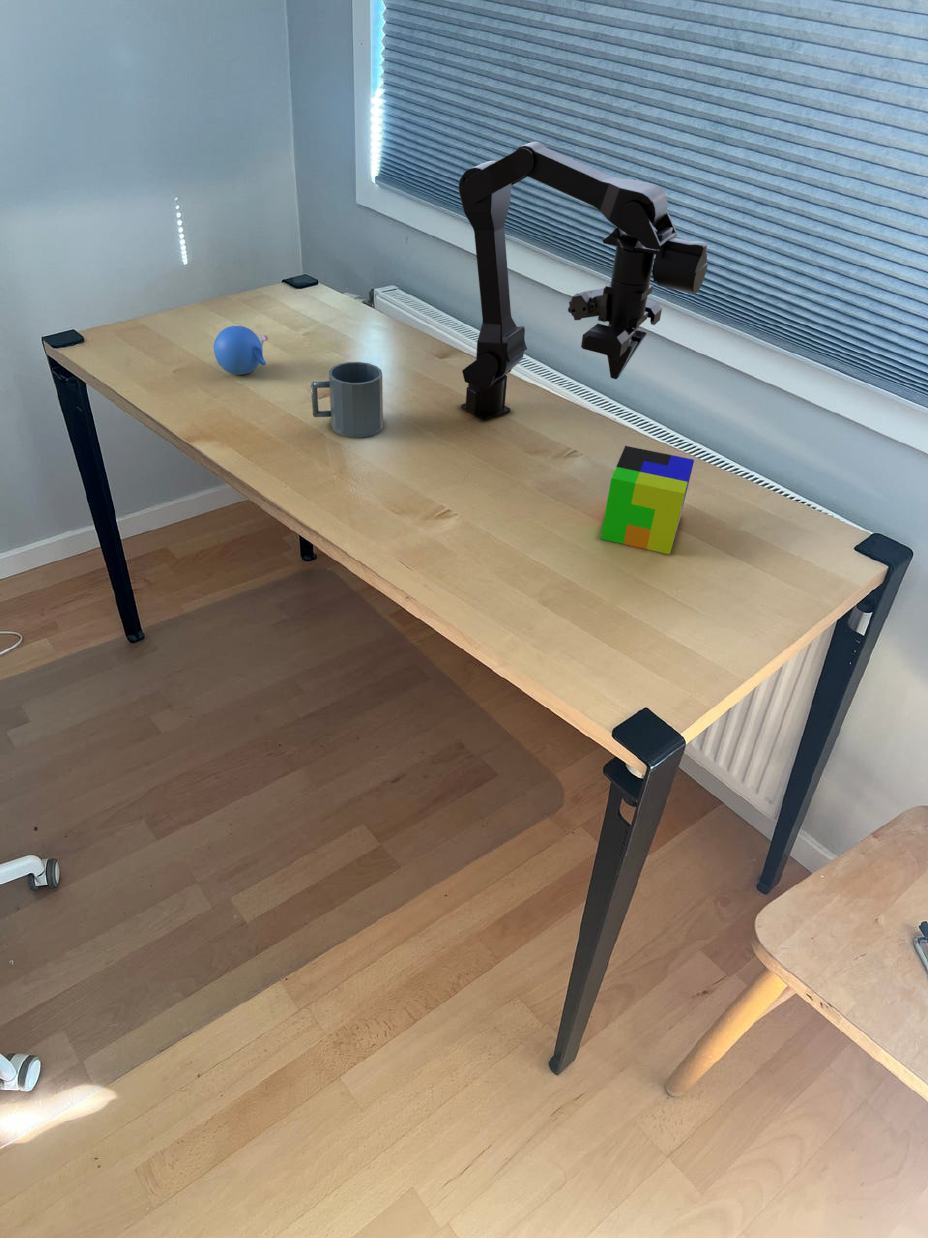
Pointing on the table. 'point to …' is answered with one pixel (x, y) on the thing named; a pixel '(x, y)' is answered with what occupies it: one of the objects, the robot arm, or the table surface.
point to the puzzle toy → (646, 499)
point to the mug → (352, 399)
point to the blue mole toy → (239, 350)
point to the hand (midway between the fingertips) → (614, 377)
